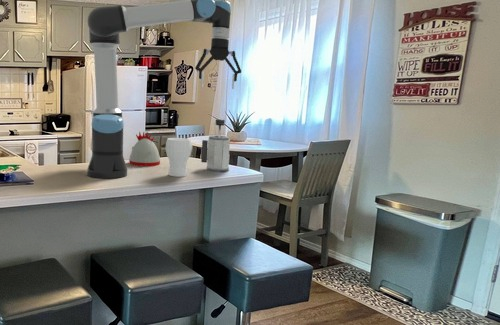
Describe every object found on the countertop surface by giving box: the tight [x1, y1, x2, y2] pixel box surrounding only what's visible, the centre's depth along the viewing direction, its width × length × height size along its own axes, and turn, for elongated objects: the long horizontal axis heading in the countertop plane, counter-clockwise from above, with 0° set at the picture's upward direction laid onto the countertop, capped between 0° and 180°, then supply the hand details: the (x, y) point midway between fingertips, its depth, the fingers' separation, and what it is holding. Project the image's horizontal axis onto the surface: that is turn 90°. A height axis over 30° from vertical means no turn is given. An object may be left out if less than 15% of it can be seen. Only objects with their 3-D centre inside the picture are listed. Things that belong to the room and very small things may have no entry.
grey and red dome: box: [128, 131, 161, 167], centre depth 204 cm, size 14×14×15 cm
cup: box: [165, 137, 193, 178], centre depth 183 cm, size 11×11×15 cm
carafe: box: [200, 135, 231, 173], centre depth 201 cm, size 12×10×15 cm
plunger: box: [215, 118, 225, 137], centre depth 200 cm, size 6×6×19 cm
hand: (217, 88), depth 196 cm, fingers open, 13 cm apart
